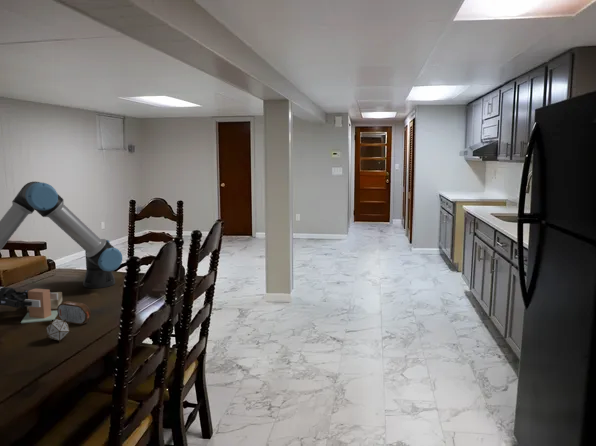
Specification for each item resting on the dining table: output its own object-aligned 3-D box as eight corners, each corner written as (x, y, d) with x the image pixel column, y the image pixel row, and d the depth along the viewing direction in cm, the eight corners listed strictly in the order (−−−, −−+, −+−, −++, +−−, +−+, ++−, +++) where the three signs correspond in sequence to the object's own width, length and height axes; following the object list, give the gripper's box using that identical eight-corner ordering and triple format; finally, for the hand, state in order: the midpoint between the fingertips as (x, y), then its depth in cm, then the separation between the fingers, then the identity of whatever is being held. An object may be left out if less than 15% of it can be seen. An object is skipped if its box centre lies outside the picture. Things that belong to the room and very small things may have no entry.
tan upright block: (29, 316, 195) (27, 291, 194) (36, 313, 199) (35, 288, 198) (44, 318, 194) (42, 292, 192) (51, 315, 198) (49, 289, 196)
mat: (59, 311, 204) (59, 310, 204) (54, 320, 193) (54, 319, 193) (27, 313, 200) (27, 312, 200) (20, 323, 189) (20, 322, 189)
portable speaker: (92, 323, 190) (91, 303, 188) (86, 326, 187) (85, 306, 185) (62, 319, 194) (61, 299, 193) (56, 321, 192) (55, 301, 190)
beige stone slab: (62, 300, 219) (61, 291, 218) (58, 308, 208) (57, 299, 207) (33, 302, 215) (32, 294, 215) (27, 310, 204) (26, 301, 203)
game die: (65, 348, 174) (81, 327, 174) (45, 348, 167) (61, 326, 166) (54, 332, 178) (69, 311, 178) (34, 331, 171) (50, 310, 170)
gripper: (23, 297, 210) (67, 300, 206) (-20, 313, 189) (29, 317, 184) (22, 280, 209) (66, 284, 205) (-21, 295, 188) (27, 299, 183)
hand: (48, 300), depth 195 cm, fingers open, 9 cm apart
